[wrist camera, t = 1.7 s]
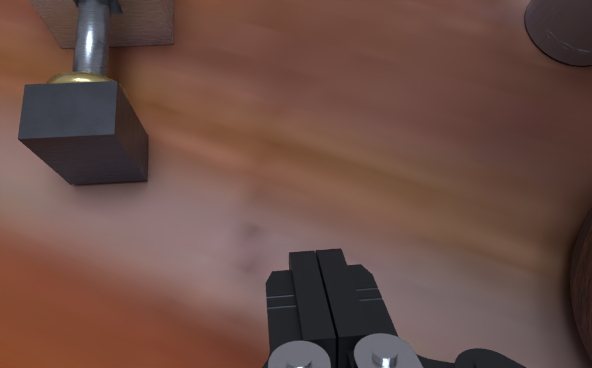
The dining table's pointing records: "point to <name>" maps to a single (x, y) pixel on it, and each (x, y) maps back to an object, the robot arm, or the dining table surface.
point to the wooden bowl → (583, 283)
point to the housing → (113, 21)
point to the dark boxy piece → (86, 112)
